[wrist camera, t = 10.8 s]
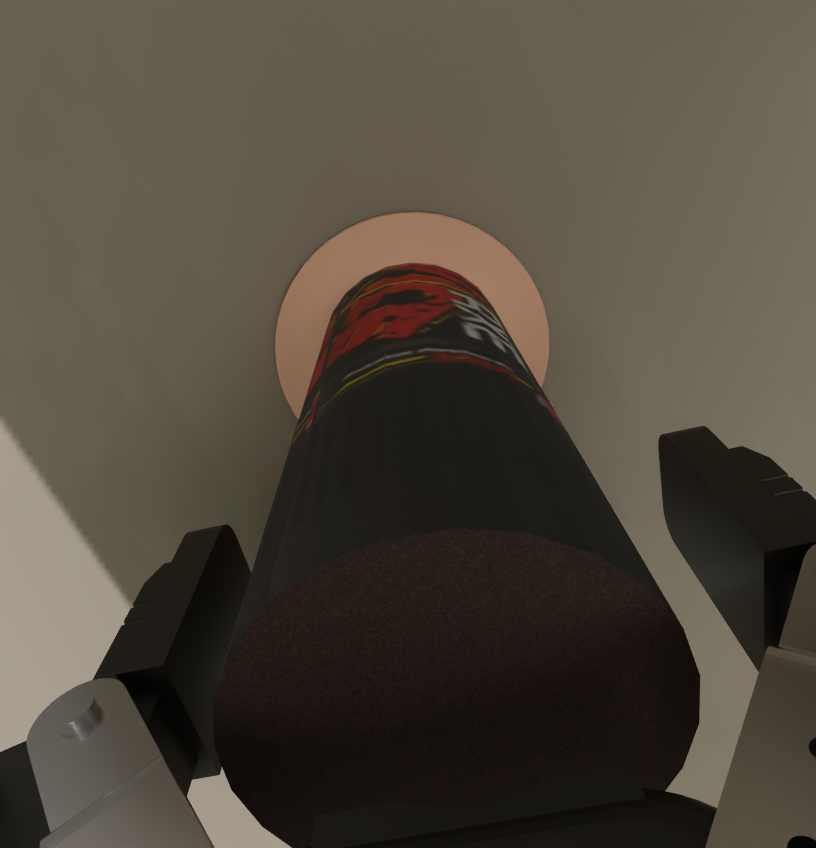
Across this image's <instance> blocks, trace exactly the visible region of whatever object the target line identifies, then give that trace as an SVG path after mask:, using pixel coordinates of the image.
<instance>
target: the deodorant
mask: <svg viewBox="0 0 816 848" xmlns="http://www.w3.org/2000/svg"><path fill="white" fill-rule="evenodd" d="M699 705H700V674H699V671H698V669H697V666H696V663H695V660H694V657H693V655H692V652H691V649H690V646H689V643H688V640H687V638H686V635H685V632H684V629H683V627H682V626H681V624H680V622H679V621H678V619H677V617H676V615H675V614H674V612H673V610H672V609H671V607H670V605H669V604H668V602H667V600H666V599H665V597H664V595H663V593H662V592H661V590H660V588H659V587H658V585H657V583H656V582H655V580H654V578H653V577H652V575H651V573H650V571H649V570H648V568H647V566H646V565H645V563H644V561H643V560H642V558H641V556H640V555H639V553H638V551H637V549H636V548H635V546H634V544H633V543H632V541H631V539H630V538H629V536H628V534H627V533H626V531H625V529H624V527H623V526H622V524H621V522H620V521H619V519H618V517H617V516H616V514H615V512H614V511H613V509H612V507H611V505H610V504H609V502H608V500H607V499H606V497H605V495H604V494H603V492H602V490H601V489H600V487H599V485H598V483H597V482H596V480H595V478H594V477H593V475H592V473H591V472H590V470H589V468H588V467H587V465H586V463H585V461H584V460H583V458H582V456H581V455H580V453H579V451H578V450H577V448H576V446H575V445H574V443H573V441H572V439H571V438H570V436H569V434H568V433H567V431H566V429H565V428H564V426H563V424H562V422H561V421H560V419H559V417H558V416H557V414H556V412H555V411H554V409H553V407H552V406H551V404H550V402H549V400H548V399H547V397H546V395H545V394H544V392H543V390H542V389H541V387H540V385H539V384H538V382H537V380H536V378H535V377H534V375H533V373H532V372H531V370H530V368H529V367H528V365H527V363H526V362H525V360H524V358H523V356H522V355H521V353H520V351H519V350H518V348H517V346H516V345H515V343H514V341H513V340H512V338H511V336H510V334H509V333H508V331H507V329H506V328H505V326H504V324H503V323H502V321H501V319H500V318H499V316H498V314H497V312H496V311H495V309H494V307H493V306H492V305H491V303H490V302H489V301H488V299H487V298H486V297H485V296H484V294H483V293H482V292H481V290H480V289H479V288H478V287H477V286H475V285H474V284H473V283H471V282H470V281H469V280H467V279H466V278H464V277H463V276H462V275H460V274H459V273H457V272H454V271H451V270H448V269H446V268H443V267H440V266H438V265H433V264H422V263H405V264H400V265H394V266H388V267H385V268H383V269H381V270H379V271H376V272H374V273H372V274H370V275H368V276H366V277H364V278H363V279H362V280H360V281H359V282H358V283H357V284H356V285H355V286H353V287H352V288H351V289H350V290H349V291H347V292H346V293H345V295H344V296H343V298H342V299H341V301H340V302H339V303H338V305H337V306H336V308H335V309H334V311H333V312H332V315H331V318H330V321H329V324H328V327H327V330H326V333H325V336H324V339H323V342H322V346H321V349H320V352H319V355H318V359H317V362H316V365H315V368H314V372H313V375H312V378H311V381H310V385H309V388H308V391H307V394H306V397H305V401H304V404H303V407H302V410H301V414H300V417H299V420H298V423H297V427H296V430H295V433H294V436H293V440H292V443H291V446H290V449H289V453H288V456H287V459H286V462H285V466H284V469H283V472H282V475H281V479H280V482H279V485H278V488H277V492H276V495H275V498H274V501H273V505H272V508H271V511H270V514H269V518H268V521H267V524H266V527H265V531H264V534H263V537H262V540H261V544H260V547H259V550H258V553H257V557H256V560H255V563H254V566H253V570H252V573H251V576H250V579H249V583H248V586H247V589H246V592H245V596H244V599H243V602H242V605H241V609H240V612H239V615H238V618H237V622H236V625H235V628H234V631H233V635H232V638H231V641H230V644H229V648H228V651H227V654H226V657H225V661H224V664H223V667H222V670H221V674H220V677H219V680H218V683H217V687H216V690H215V693H214V696H213V727H214V748H215V750H216V753H217V755H218V758H219V760H220V763H221V765H222V767H223V770H224V772H225V775H226V777H227V780H228V782H229V785H230V787H231V790H232V791H233V792H234V793H235V794H236V796H237V797H238V798H239V799H240V801H241V802H242V803H243V804H244V805H245V806H246V808H247V809H248V810H249V811H250V812H251V814H252V815H253V816H254V817H255V818H256V820H257V821H258V822H259V823H260V824H261V825H262V827H264V828H265V829H267V830H268V831H269V832H271V833H272V834H274V835H275V836H276V837H278V838H279V839H281V840H282V841H284V842H285V843H287V844H288V845H289V846H291V847H292V848H306V847H308V846H310V845H312V840H313V831H314V822H315V815H321V814H327V813H333V812H339V811H345V810H351V809H357V808H362V807H368V806H374V805H380V804H386V803H400V804H412V805H423V806H434V807H445V808H457V809H474V808H478V807H481V806H483V805H486V804H488V803H490V802H492V801H495V800H497V799H499V798H501V797H504V796H506V795H508V794H511V793H513V792H515V791H517V790H520V789H522V788H524V787H527V786H529V785H531V784H533V783H536V782H538V781H540V780H542V779H545V778H547V777H549V776H552V775H556V774H562V773H568V772H574V771H580V770H586V769H592V768H598V767H603V766H609V765H615V764H621V763H627V762H633V764H634V767H635V770H636V773H637V775H638V778H639V781H640V784H641V786H642V789H653V790H660V791H665V790H666V789H667V788H668V786H669V785H670V784H671V782H672V781H673V780H674V778H675V777H676V776H677V774H678V773H679V772H680V770H681V769H682V768H683V765H684V763H685V760H686V757H687V754H688V752H689V749H690V746H691V744H692V741H693V738H694V736H695V733H696V730H697V727H698V725H699Z"/></svg>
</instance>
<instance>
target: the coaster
mask: <svg viewBox="0 0 816 848" xmlns="http://www.w3.org/2000/svg"><path fill="white" fill-rule="evenodd" d="M405 263H422V264H433V265H438V266H440V267H443V268H446V269H448V270H451V271H454V272H457V273H459V274H460V275H462V276H463V277H464V278H466V279H467V280H469V281H470V282H471V283H473V284H474V285H475V286H477V287H478V288H479V289H480V290H481V292H482V293H483V294H484V296H485V297H486V298H487V299H488V301H489V302H490V303H491V305H492V306H493V307H494V309H495V311H496V312H497V314H498V316H499V318H500V319H501V321H502V323H503V324H504V326H505V328H506V329H507V331H508V333H509V334H510V336H511V338H512V340H513V341H514V343H515V345H516V346H517V348H518V350H519V351H520V353H521V355H522V356H523V358H524V360H525V362H526V363H527V365H528V367H529V368H530V370H531V372H532V373H533V375H534V377H535V378H536V380H537V382H538V384H539V385H540V387H542V384H543V381H544V378H545V375H546V370H547V365H548V359H549V329H548V322H547V317H546V313H545V308H544V305H543V303H542V300H541V297H540V295H539V292H538V290H537V288H536V286H535V284H534V282H533V281H532V279H531V277H530V275H529V274H528V273H527V271H526V270H525V268H524V267H523V266H522V264H521V263H520V262H519V260H518V259H517V258H516V257H515V256H514V255H513V254H512V253H511V252H510V251H509V250H508V249H507V248H506V247H505V246H504V245H503V244H501V243H500V242H499V241H498V240H496V239H495V238H494V237H492V236H491V235H490V234H488V233H487V232H485V231H483V230H481V229H480V228H478V227H476V226H475V225H473V224H470V223H468V222H465V221H463V220H460V219H458V218H455V217H451V216H447V215H443V214H439V213H432V212H423V211H403V212H394V213H388V214H382V215H378V216H375V217H372V218H369V219H365V220H362V221H360V222H358V223H356V224H354V225H352V226H350V227H347V228H345V229H344V230H342V231H341V232H339V233H338V234H336V235H335V236H333V237H332V238H330V239H329V240H328V241H327V242H325V243H324V244H323V245H322V246H321V247H320V248H318V249H317V250H316V251H315V252H314V253H313V255H312V256H311V257H310V258H309V259H308V260H307V261H306V263H305V264H304V265H303V267H302V268H301V270H300V271H299V273H298V274H297V276H296V277H295V279H294V280H293V282H292V284H291V286H290V288H289V290H288V292H287V294H286V296H285V298H284V301H283V304H282V307H281V310H280V313H279V317H278V322H277V328H276V334H275V356H276V365H277V371H278V375H279V379H280V383H281V386H282V389H283V391H284V394H285V396H286V399H287V401H288V403H289V405H290V407H291V408H292V410H293V412H294V414H295V416H296V417H297V418H298V420H299V417H300V414H301V410H302V407H303V404H304V401H305V397H306V394H307V391H308V388H309V385H310V381H311V378H312V375H313V372H314V368H315V365H316V362H317V359H318V355H319V352H320V349H321V346H322V342H323V339H324V336H325V333H326V330H327V327H328V324H329V321H330V318H331V315H332V312H333V311H334V309H335V308H336V306H337V305H338V303H339V302H340V301H341V299H342V298H343V296H344V295H345V293H346V292H347V291H349V290H350V289H351V288H352V287H353V286H355V285H356V284H357V283H358V282H359V281H360V280H362V279H363V278H364V277H366V276H368V275H370V274H372V273H374V272H376V271H379V270H381V269H383V268H385V267H388V266H394V265H400V264H405Z"/></svg>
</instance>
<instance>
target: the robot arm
mask: <svg viewBox="0 0 816 848" xmlns="http://www.w3.org/2000/svg"><path fill="white" fill-rule="evenodd" d="M658 446H659V460H660V473H661V486H662V498H663V510H664V515H665V520H666V524H667V527H668V530H669V532H670V535H671V537H672V539H673V541H674V543H675V544H676V546H677V548H678V549H679V551H680V552H681V554H682V555H683V557H684V558H685V560H686V561H687V563H688V564H689V566H690V567H691V569H692V571H693V572H694V574H695V575H696V577H697V578H698V580H699V581H700V583H701V584H702V586H703V587H704V589H705V590H706V592H707V594H708V595H709V597H710V598H711V600H712V601H713V603H714V604H715V606H716V607H717V609H718V610H719V612H720V613H721V615H722V617H723V618H724V620H725V621H726V623H727V624H728V626H729V627H730V629H731V630H732V632H733V633H734V635H735V636H736V638H737V640H738V641H739V643H740V644H741V646H742V647H743V649H744V650H745V652H746V653H747V655H748V656H749V658H750V660H751V661H752V663H753V664H754V666H755V667H756V669H757V670H758V672H759V674H758V677H757V681H756V684H755V687H754V690H753V694H752V697H751V700H750V703H749V707H748V710H747V713H746V716H745V720H744V723H743V726H742V729H741V733H740V736H739V739H738V742H737V746H736V749H735V752H734V756H733V759H732V762H731V765H730V769H729V772H728V775H727V778H726V782H725V785H724V788H723V791H722V795H721V798H720V801H719V804H718V808H715V807H713V806H710V805H708V804H706V803H703V802H701V801H699V800H695V799H692V798H689V797H686V796H683V795H679V794H675V793H670V792H665V791H660V790H653V789H642V786H641V784H640V781H639V778H638V775H637V773H636V770H635V767H634V764H633V762H627V763H621V764H615V765H609V766H603V767H598V768H592V769H586V770H580V771H574V772H568V773H562V774H556V775H552V776H549V777H547V778H545V779H542V780H540V781H538V782H536V783H533V784H531V785H529V786H527V787H524V788H522V789H520V790H517V791H515V792H513V793H511V794H508V795H506V796H504V797H501V798H499V799H497V800H495V801H492V802H490V803H488V804H486V805H483V806H481V807H478V808H474V809H457V808H445V807H434V806H423V805H412V804H400V803H386V804H380V805H374V806H368V807H362V808H357V809H351V810H345V811H339V812H333V813H327V814H321V815H315V822H314V831H313V840H312V845H310V846H308V847H306V848H816V500H815V499H814V498H813V497H812V496H811V495H810V494H809V493H808V492H807V491H805V492H804V491H803V488H802V487H801V486H800V485H799V484H798V483H797V482H796V481H795V480H794V479H793V478H789V477H788V474H787V473H786V472H785V471H784V470H783V469H782V468H780V467H779V466H778V465H777V464H776V463H775V462H774V461H773V460H772V459H771V458H769V457H767V456H764V455H762V454H760V453H757V452H755V451H753V450H750V449H748V448H745V447H743V446H741V447H736V448H731V449H728V448H727V447H726V446H725V445H724V444H723V443H722V442H721V441H720V440H719V439H718V438H717V437H716V436H715V435H714V434H713V433H712V432H711V431H710V430H709V429H708V428H707V427H705V426H700V427H695V428H690V429H686V430H681V431H676V432H671V433H666V434H662V435H661V436H660V438H659V445H658ZM250 576H251V571H250V569H249V567H248V564H247V562H246V559H245V557H244V554H243V552H242V549H241V547H240V545H239V542H238V540H237V537H236V535H235V533H234V531H233V529H232V528H231V527H230V526H229V525H220V526H216V527H211V528H206V529H201V530H197V531H192V532H188V533H187V534H186V535H185V536H184V538H183V540H182V542H181V544H180V546H179V548H178V550H177V552H176V554H175V556H174V558H173V560H172V562H170V563H165V564H163V565H162V566H161V567H160V568H159V569H158V570H157V571H156V572H155V573H154V574H153V575H152V576H151V577H150V578H149V579H148V580H147V581H146V582H145V583H144V585H143V587H142V589H141V590H140V592H139V594H138V596H137V598H136V600H135V602H134V603H133V606H134V608H131V609H130V611H129V613H128V615H127V617H126V618H125V621H124V623H125V624H124V625H122V626H121V628H120V630H119V631H118V633H117V635H116V637H115V639H114V641H113V643H112V645H111V647H110V649H109V650H108V652H107V654H106V656H105V658H104V660H103V661H102V663H101V665H100V667H99V669H98V671H97V673H96V674H95V676H94V679H93V680H91V681H88V682H86V683H83V684H81V685H78V686H76V687H74V688H73V689H71V690H69V691H67V692H66V693H64V694H63V695H61V696H60V697H58V698H57V699H56V700H55V701H53V702H52V703H51V704H50V705H49V706H48V707H47V708H46V709H45V710H44V711H43V712H42V713H41V714H40V715H39V717H38V718H37V719H36V721H35V722H34V724H33V725H32V727H31V729H30V731H29V734H28V737H27V741H25V742H22V743H20V744H18V745H16V746H13V747H11V748H9V749H6V750H4V751H2V752H0V848H214V846H213V844H212V842H211V840H210V839H209V837H208V835H207V833H206V831H205V829H204V828H203V826H202V824H201V822H200V820H199V818H198V816H197V814H196V813H195V811H194V809H193V807H192V805H191V804H190V802H189V800H188V798H187V794H188V791H189V787H190V784H191V781H192V779H199V778H204V777H210V776H215V775H220V771H221V768H222V765H221V763H220V760H219V758H218V755H217V753H216V750H215V748H214V727H213V696H214V693H215V690H216V687H217V683H218V680H219V677H220V674H221V670H222V667H223V664H224V661H225V657H226V654H227V651H228V648H229V644H230V641H231V638H232V635H233V631H234V628H235V625H236V622H237V618H238V615H239V612H240V609H241V605H242V602H243V599H244V596H245V592H246V589H247V586H248V583H249V579H250Z"/></svg>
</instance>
